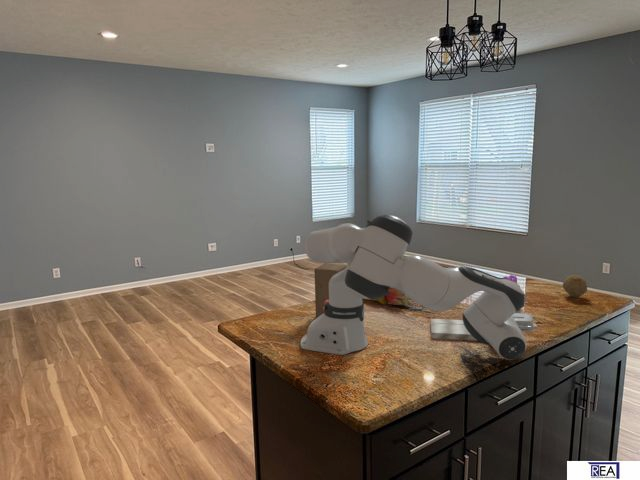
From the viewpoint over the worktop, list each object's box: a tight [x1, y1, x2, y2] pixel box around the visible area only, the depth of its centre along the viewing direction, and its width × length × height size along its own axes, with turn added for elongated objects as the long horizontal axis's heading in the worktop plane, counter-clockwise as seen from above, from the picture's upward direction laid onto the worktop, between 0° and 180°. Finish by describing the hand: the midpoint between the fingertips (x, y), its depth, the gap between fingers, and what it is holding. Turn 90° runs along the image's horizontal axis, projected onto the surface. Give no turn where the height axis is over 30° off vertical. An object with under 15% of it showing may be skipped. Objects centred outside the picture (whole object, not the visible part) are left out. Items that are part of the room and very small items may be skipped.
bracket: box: [502, 274, 518, 284], centre depth 209 cm, size 13×6×7 cm, turn 30°
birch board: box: [430, 318, 479, 342], centre depth 157 cm, size 24×14×2 cm, turn 78°
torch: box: [370, 288, 416, 307], centre depth 191 cm, size 8×8×25 cm
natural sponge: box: [562, 274, 588, 299], centre depth 192 cm, size 9×9×10 cm
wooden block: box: [313, 263, 348, 319], centre depth 176 cm, size 10×10×20 cm
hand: (494, 312), depth 148 cm, fingers open, 8 cm apart
